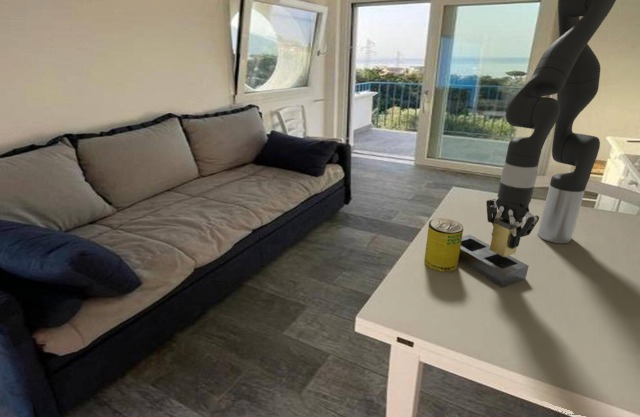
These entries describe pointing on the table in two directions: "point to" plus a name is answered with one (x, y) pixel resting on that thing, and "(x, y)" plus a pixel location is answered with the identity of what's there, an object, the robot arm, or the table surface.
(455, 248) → the beverage can
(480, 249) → the cinder block
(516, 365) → the table surface
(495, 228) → the tan banded block
